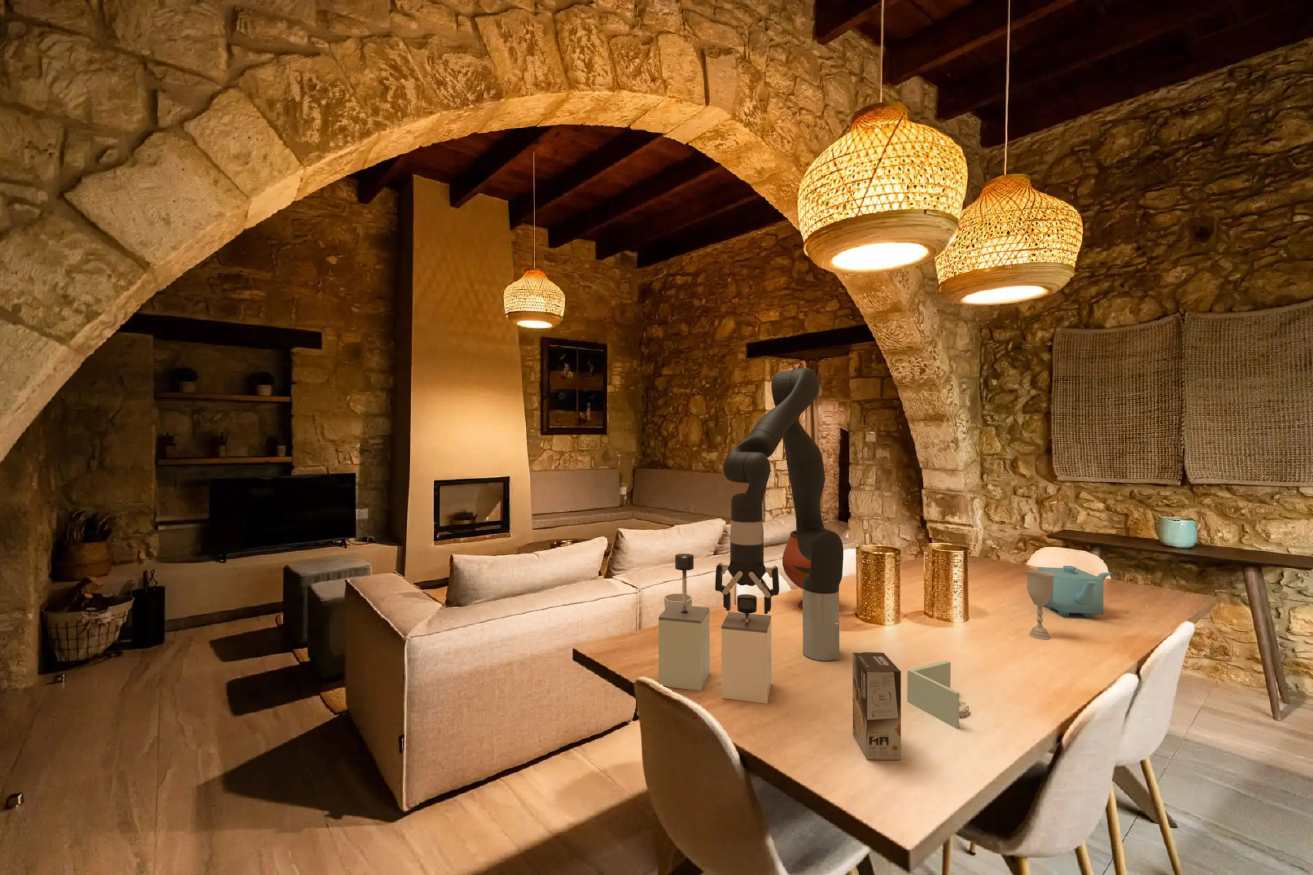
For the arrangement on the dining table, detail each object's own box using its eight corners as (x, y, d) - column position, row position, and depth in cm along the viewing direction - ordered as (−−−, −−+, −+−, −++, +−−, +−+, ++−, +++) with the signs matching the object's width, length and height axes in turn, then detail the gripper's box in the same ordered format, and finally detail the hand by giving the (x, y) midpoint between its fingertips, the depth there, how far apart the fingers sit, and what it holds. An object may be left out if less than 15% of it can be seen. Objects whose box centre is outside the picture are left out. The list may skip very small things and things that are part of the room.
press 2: (771, 683, 133) (771, 615, 132) (767, 703, 123) (767, 630, 123) (728, 678, 135) (728, 611, 135) (721, 697, 126) (721, 625, 125)
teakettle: (1047, 599, 196) (1047, 557, 195) (1115, 613, 181) (1115, 567, 180) (1025, 611, 184) (1025, 565, 184) (1096, 626, 169) (1096, 577, 169)
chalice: (1027, 638, 160) (1027, 574, 160) (1022, 630, 166) (1022, 569, 166) (1058, 642, 157) (1058, 577, 157) (1051, 633, 163) (1052, 571, 163)
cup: (681, 647, 155) (681, 603, 155) (658, 640, 160) (658, 598, 159) (697, 638, 161) (697, 596, 161) (674, 632, 166) (674, 591, 166)
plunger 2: (766, 676, 132) (766, 593, 131) (763, 691, 124) (763, 603, 124) (732, 672, 134) (732, 590, 134) (726, 687, 126) (726, 600, 126)
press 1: (709, 672, 139) (709, 607, 138) (701, 690, 129) (700, 620, 129) (669, 667, 141) (669, 604, 141) (658, 685, 132) (658, 617, 132)
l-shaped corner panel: (956, 731, 113) (956, 693, 112) (907, 704, 124) (907, 669, 123) (996, 718, 117) (997, 682, 117) (946, 693, 128) (946, 660, 128)
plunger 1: (704, 632, 138) (704, 552, 137) (697, 644, 130) (697, 560, 130) (672, 629, 140) (672, 551, 140) (664, 640, 132) (663, 558, 132)
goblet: (845, 602, 193) (845, 529, 193) (838, 620, 176) (838, 540, 175) (788, 596, 201) (788, 525, 200) (776, 612, 183) (776, 535, 183)
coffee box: (902, 760, 102) (903, 671, 102) (866, 760, 102) (866, 671, 102) (883, 733, 111) (884, 651, 111) (850, 732, 111) (850, 651, 111)
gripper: (780, 538, 130) (780, 608, 130) (718, 535, 134) (718, 603, 134) (777, 545, 123) (777, 619, 123) (712, 541, 127) (712, 613, 127)
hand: (747, 611), depth 129 cm, fingers open, 8 cm apart
